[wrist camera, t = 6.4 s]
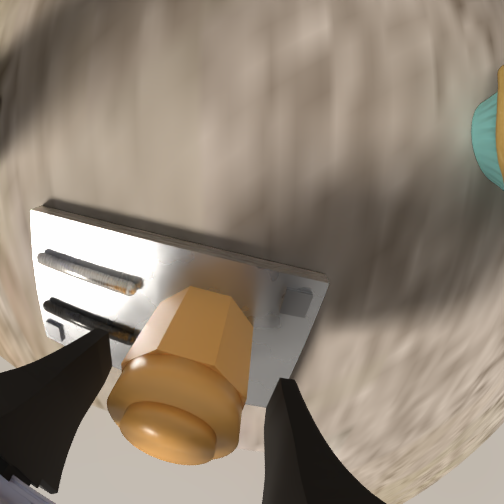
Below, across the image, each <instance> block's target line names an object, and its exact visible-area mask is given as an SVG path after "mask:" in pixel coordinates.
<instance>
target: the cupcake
mask: <svg viewBox="0 0 504 504" xmlns="http://www.w3.org/2000/svg"><path fill="white" fill-rule="evenodd" d="M471 135H472V145H473V150H474V154H475V157H476V160H477V162H478V164H479V167H480V168H481V170H482V172H483V173H484V174H485V176H486V177H487V178H488V179H489V180H490V181H492V182H493V183H495V184H496V185H497V186H499V187H500V188H501V189H502V190H503V191H504V65H503V66H501V67H500V69H499V70H498V92H497V93H495V94H494V95H493V96H491V97H490V98H488V99H487V100H485V101H484V102H482V103H481V104H480V105H479V106H478V107H477V109H476V111H475V113H474V116H473V120H472V128H471Z"/></svg>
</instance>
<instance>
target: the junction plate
mask: <svg viewBox="0 0 504 504" xmlns="http://www.w3.org/2000/svg"><path fill="white" fill-rule="evenodd" d="M31 237H32V251H33V261H34V270H35V278H36V285H37V291H38V297H39V303H40V308H41V313H42V318H43V323H44V327H45V331H46V335H47V337H49V338H51V339H53V340H55V341H57V342H58V343H61V344H63V345H65V346H66V345H68V344H70V343H71V342H73V341H75V340H77V339H78V338H80V337H82V336H83V335H85V334H87V333H88V332H90V331H92V330H94V329H95V328H99V329H102V330H104V331H107V332H109V339H110V349H111V358H112V366H113V367H115V368H118V369H120V370H122V368H121V363H122V361H123V360H124V358H125V357H126V355H127V353H128V352H129V350H130V348H131V347H132V345H133V344H134V342H135V341H136V339H137V337H138V336H139V334H140V333H141V331H142V329H143V328H144V326H145V325H146V323H147V322H148V320H149V319H150V317H151V316H152V314H153V312H154V311H155V309H156V308H157V306H158V305H159V303H160V302H162V301H163V300H165V299H167V298H169V297H171V296H173V295H174V294H176V293H178V292H180V291H182V290H184V289H185V288H187V287H189V286H193V287H197V288H200V289H204V290H208V291H212V292H216V293H219V294H223V295H227V296H231V297H232V298H233V299H234V301H235V302H236V304H237V305H238V306H239V308H240V309H241V311H242V312H243V313H244V315H245V316H246V318H247V319H248V320H249V322H250V323H251V324H252V326H253V337H252V348H251V359H250V370H249V381H248V391H247V400H246V403H245V404H247V405H253V406H259V407H265V408H266V406H267V404H268V402H269V400H270V398H271V396H272V394H273V391H274V389H275V387H276V385H277V383H278V380H279V378H286V379H289V377H290V375H291V373H292V371H293V369H294V367H295V365H296V362H297V360H298V358H299V356H300V354H301V351H302V349H303V347H304V345H305V342H306V340H307V338H308V335H309V333H310V331H311V328H312V326H313V323H314V321H315V319H316V316H317V314H318V311H319V309H320V306H321V304H322V301H323V299H324V296H325V294H326V291H327V288H328V286H329V282H328V279H327V277H326V275H325V274H323V273H319V272H315V271H310V270H306V269H302V268H298V267H293V266H289V265H285V264H281V263H276V262H272V261H268V260H264V259H260V258H255V257H251V256H247V255H243V254H239V253H234V252H230V251H226V250H222V249H218V248H213V247H209V246H205V245H201V244H197V243H193V242H188V241H184V240H180V239H176V238H172V237H168V236H164V235H160V234H155V233H151V232H147V231H143V230H139V229H135V228H131V227H127V226H123V225H118V224H114V223H110V222H106V221H102V220H98V219H94V218H90V217H86V216H82V215H78V214H74V213H70V212H66V211H62V210H58V209H53V208H49V207H45V206H39V207H36V208H34V209H31Z"/></svg>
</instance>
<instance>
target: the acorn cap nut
mask: <svg viewBox="0 0 504 504" xmlns="http://www.w3.org/2000/svg"><path fill="white" fill-rule="evenodd" d="M252 337H253V326H252V324H251V323H250V322H249V320H248V319H247V318H246V316H245V315H244V313H243V312H242V311H241V309H240V308H239V306H238V305H237V304H236V302H235V301H234V299H233V298H232V297H231V296H227V295H223V294H219V293H216V292H212V291H208V290H204V289H200V288H197V287H193V286H189V287H187V288H185V289H184V290H182V291H180V292H178V293H176V294H174V295H173V296H171V297H169V298H167V299H165V300H163V301H162V302H160V303H159V305H158V306H157V308H156V309H155V311H154V312H153V314H152V316H151V317H150V319H149V320H148V322H147V323H146V325H145V326H144V328H143V329H142V331H141V333H140V334H139V336H138V337H137V339H136V341H135V342H134V344H133V345H132V347H131V348H130V350H129V352H128V353H127V355H126V357H125V358H124V360H123V361H122V363H121V368H122V374H121V375H120V377H119V379H118V380H117V382H116V384H115V386H114V387H113V389H112V391H111V393H110V395H109V397H108V399H107V408H108V411H109V413H110V415H111V417H112V419H113V420H114V422H115V423H116V424H117V425H118V426H119V427H120V430H121V432H122V434H123V435H124V437H125V438H126V439H127V440H128V441H129V442H130V443H131V444H132V445H134V446H135V447H136V448H138V449H139V450H141V451H143V452H145V453H146V454H149V455H151V456H153V457H155V458H158V459H160V460H163V461H167V462H171V463H175V464H181V465H199V464H204V463H207V462H209V461H211V460H213V459H218V458H221V457H224V456H227V455H228V454H230V453H232V452H233V451H234V450H235V449H236V447H237V445H238V442H239V433H240V424H241V414H242V410H243V407H244V405H245V403H246V400H247V391H248V381H249V370H250V359H251V348H252Z"/></svg>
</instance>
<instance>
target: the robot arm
mask: <svg viewBox="0 0 504 504" xmlns="http://www.w3.org/2000/svg"><path fill="white" fill-rule="evenodd" d="M111 368H112V358H111V349H110V339H109V332H107V331H104V330H102V329H99V328H95V329H94V330H92V331H90V332H88V333H87V334H85V335H83V336H82V337H80V338H78V339H77V340H75V341H73V342H71V343H70V344H68V345H66V346H64V347H63V348H61V349H59V350H57V351H55V352H53V353H51V354H49V355H47V356H45V357H43V358H41V359H39V360H37V361H35V362H32V363H30V364H27V365H25V366H22V367H19V368H16V369H13V370H9V371H5V372H2V373H0V504H56V503H54V502H52V501H51V500H49V499H48V498H46V497H44V496H43V495H41V494H40V493H38V492H37V491H35V490H33V489H32V488H31V487H29V486H30V484H32V485H33V486H35V487H36V488H38V487H41V488H42V489H44V490H45V491H47V492H49V493H50V494H54V493H57V492H58V488H59V483H60V479H61V475H62V470H63V467H64V464H65V461H66V457H67V454H68V451H69V449H70V446H71V443H72V441H73V438H74V436H75V433H76V431H77V429H78V427H79V425H80V422H81V421H82V419H83V417H84V416H85V414H86V412H87V411H88V409H89V408H90V406H91V404H92V403H93V401H94V400H95V398H96V396H97V395H98V393H99V391H100V390H101V388H102V387H103V385H104V383H105V381H106V379H107V377H108V374H109V372H110V370H111ZM264 447H265V482H264V492H263V500H262V504H386V503H385V502H383V501H382V500H380V499H379V498H378V497H376V496H375V495H373V494H372V493H371V492H370V491H369V490H367V489H366V488H365V487H364V486H363V485H362V484H361V483H360V482H359V481H358V480H357V479H356V478H355V477H354V476H353V475H352V474H351V473H350V472H349V471H348V470H347V469H346V468H345V467H344V465H343V464H342V463H341V462H340V460H339V459H338V458H337V457H336V455H335V454H334V453H333V451H332V450H331V448H330V447H329V445H328V444H327V442H326V441H325V439H324V438H323V436H322V434H321V433H320V431H319V429H318V428H317V426H316V424H315V422H314V420H313V418H312V416H311V414H310V412H309V410H308V408H307V406H306V404H305V402H304V400H303V398H302V395H301V393H300V391H299V388H298V386H297V383H296V381H295V380H293V379H286V378H279V380H278V383H277V385H276V387H275V389H274V391H273V394H272V396H271V398H270V400H269V402H268V404H267V406H266V414H265V424H264Z"/></svg>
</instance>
